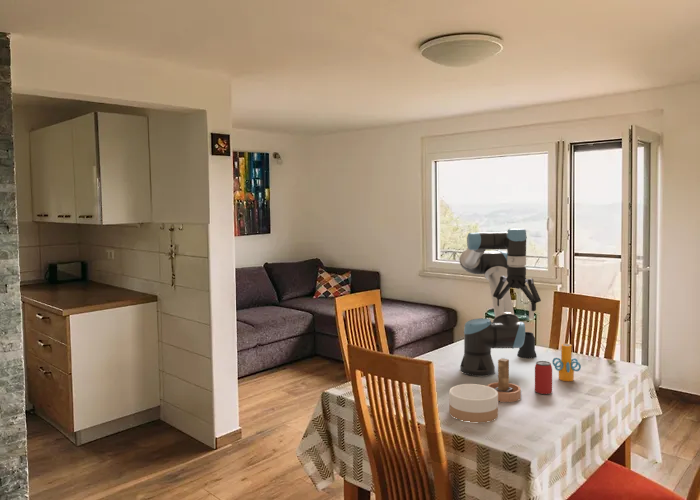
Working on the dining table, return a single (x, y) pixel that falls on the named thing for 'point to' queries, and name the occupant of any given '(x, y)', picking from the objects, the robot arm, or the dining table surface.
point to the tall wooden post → (503, 374)
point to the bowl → (473, 402)
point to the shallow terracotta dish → (508, 396)
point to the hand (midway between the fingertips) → (516, 316)
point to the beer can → (543, 377)
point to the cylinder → (566, 363)
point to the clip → (504, 391)
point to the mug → (528, 347)
